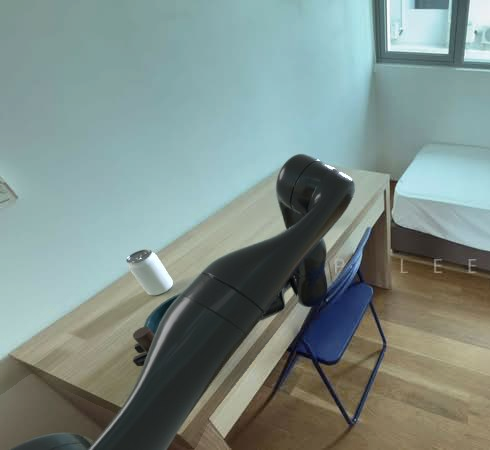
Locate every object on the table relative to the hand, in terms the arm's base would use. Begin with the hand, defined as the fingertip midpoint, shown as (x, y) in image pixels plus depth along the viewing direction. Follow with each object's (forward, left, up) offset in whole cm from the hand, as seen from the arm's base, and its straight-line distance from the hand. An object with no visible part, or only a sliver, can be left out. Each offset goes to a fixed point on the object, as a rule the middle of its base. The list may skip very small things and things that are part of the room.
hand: (136, 355), depth 59 cm
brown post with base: (+1, -3, -10) cm, 10 cm away
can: (+29, +17, -10) cm, 35 cm away
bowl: (+15, +1, -10) cm, 18 cm away
